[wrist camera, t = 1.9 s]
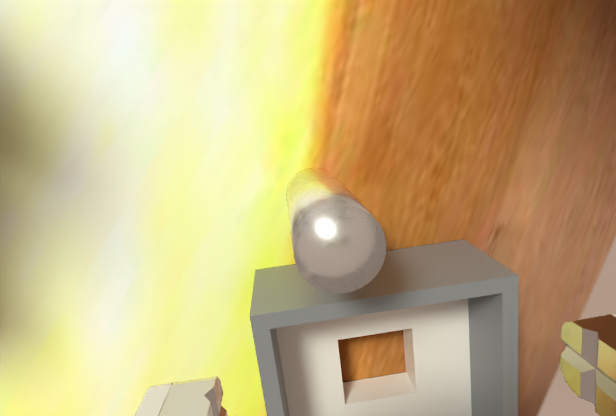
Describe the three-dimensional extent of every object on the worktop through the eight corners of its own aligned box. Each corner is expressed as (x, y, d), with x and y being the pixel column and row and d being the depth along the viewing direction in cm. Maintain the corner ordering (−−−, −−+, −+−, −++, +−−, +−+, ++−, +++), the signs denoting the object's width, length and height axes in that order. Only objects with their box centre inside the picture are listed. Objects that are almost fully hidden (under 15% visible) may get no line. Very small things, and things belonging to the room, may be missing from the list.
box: (255, 269, 30) (249, 316, 23) (464, 239, 30) (518, 275, 24) (284, 446, 33) (287, 531, 27) (469, 415, 34) (517, 490, 27)
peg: (282, 171, 28) (288, 212, 17) (338, 164, 28) (382, 198, 17) (290, 225, 29) (300, 299, 17) (344, 218, 29) (389, 286, 18)
